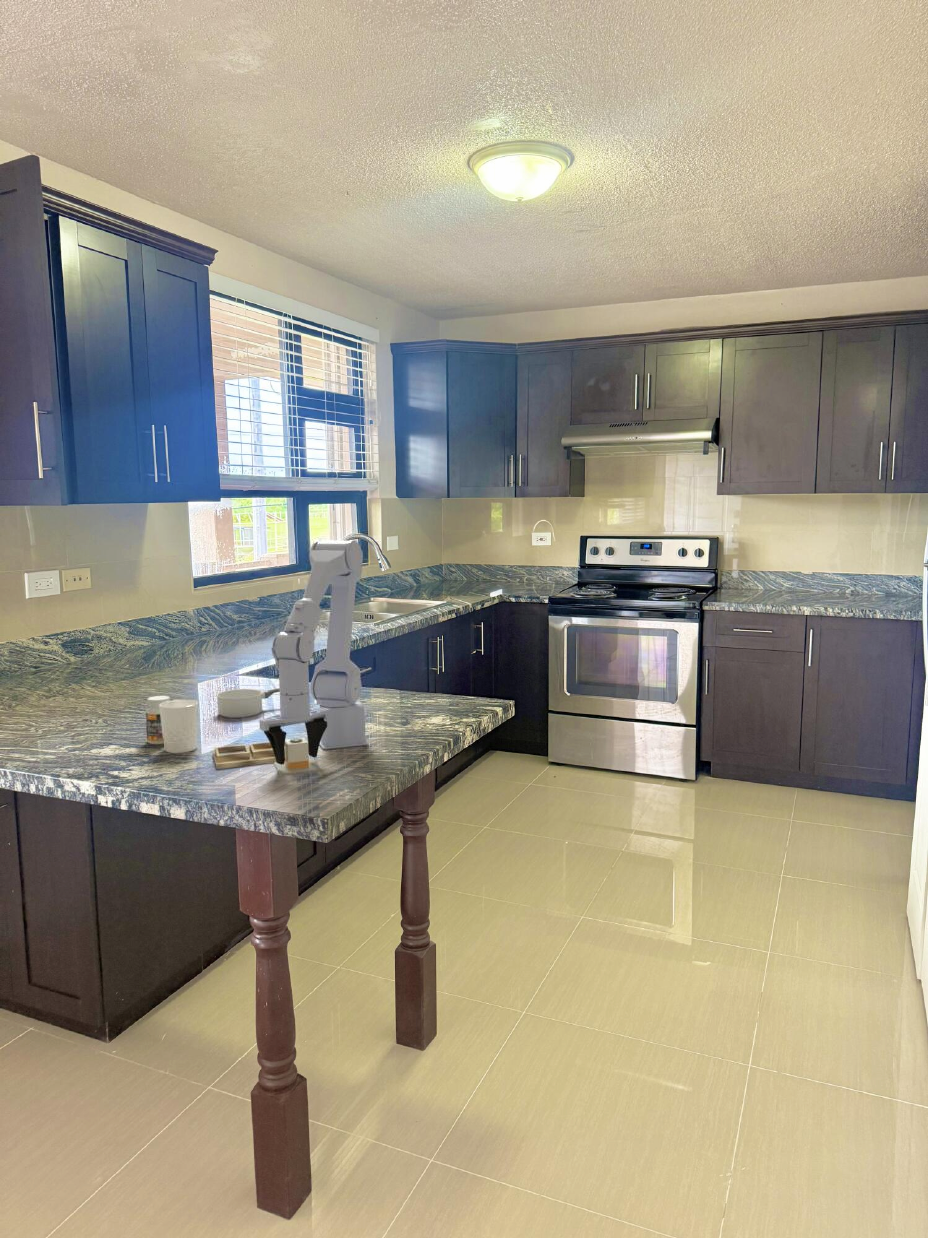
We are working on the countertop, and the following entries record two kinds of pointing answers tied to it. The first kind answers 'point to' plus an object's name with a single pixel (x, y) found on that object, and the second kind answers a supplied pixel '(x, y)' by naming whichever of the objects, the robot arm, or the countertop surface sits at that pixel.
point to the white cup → (179, 725)
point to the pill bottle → (154, 719)
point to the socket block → (243, 755)
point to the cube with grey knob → (296, 753)
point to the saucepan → (242, 702)
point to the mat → (312, 767)
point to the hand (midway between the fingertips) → (296, 759)
